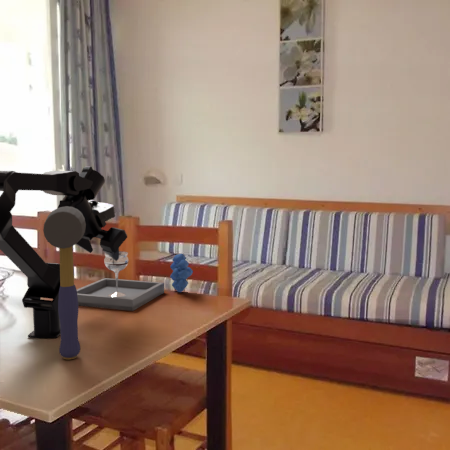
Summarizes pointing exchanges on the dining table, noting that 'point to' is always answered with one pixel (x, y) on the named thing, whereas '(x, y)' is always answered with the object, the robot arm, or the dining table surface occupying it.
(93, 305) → the tray
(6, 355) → the dining table surface
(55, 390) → the dining table surface
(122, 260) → the wineglass
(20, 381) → the dining table surface
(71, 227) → the rubber mallet
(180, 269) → the grapes
